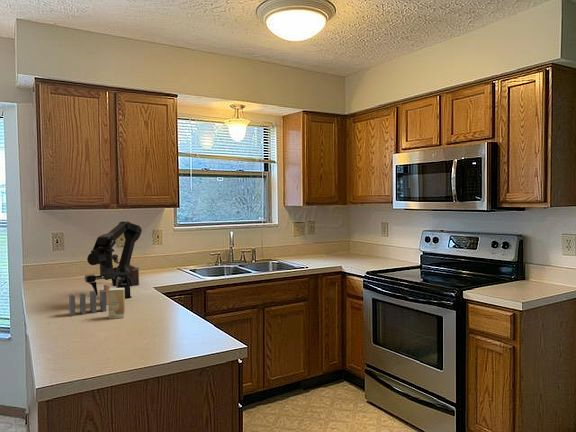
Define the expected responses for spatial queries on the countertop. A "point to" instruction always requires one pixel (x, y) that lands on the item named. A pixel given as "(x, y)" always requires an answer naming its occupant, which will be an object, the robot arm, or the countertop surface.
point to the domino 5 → (107, 293)
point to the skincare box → (116, 303)
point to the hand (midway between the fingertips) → (107, 294)
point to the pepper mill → (133, 271)
